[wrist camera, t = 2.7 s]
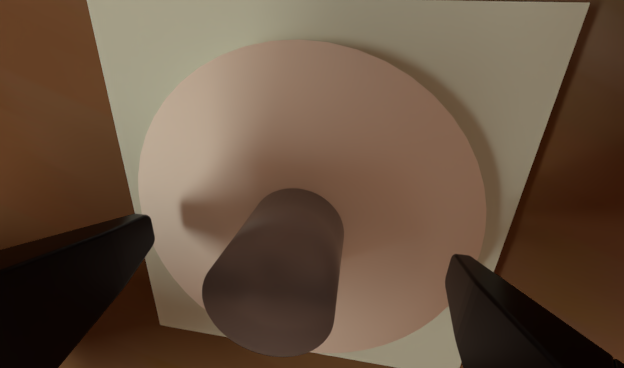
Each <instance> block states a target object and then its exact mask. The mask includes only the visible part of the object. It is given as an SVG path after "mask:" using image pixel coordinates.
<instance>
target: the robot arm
mask: <svg viewBox="0 0 624 368" xmlns="http://www.w3.org/2000/svg"><path fill="white" fill-rule="evenodd" d="M154 241H155V235H154V231H153V226H152V221H151V218H150V217H149V216H148V215H144V214H132V215H128V216H124V217H121V218H117V219H113V220H110V221H106V222H102V223H98V224H95V225H91V226H87V227H84V228H80V229H76V230H73V231H69V232H65V233H61V234H58V235H54V236H50V237H47V238H43V239H39V240H36V241H32V242H28V243H24V244H21V245H17V246H13V247H10V248H6V249H2V250H0V368H58V367H59V366H60V365H61V364H62V362H63V361H64V360H65V359H66V358H67V356H68V355H69V354H70V353H71V352H72V350H73V349H74V348H75V347H76V345H77V344H78V343H79V342H80V341H81V339H82V338H83V337H84V336H85V335H86V333H87V332H88V331H89V330H90V328H91V327H92V326H93V325H94V324H95V322H96V321H97V320H98V319H99V318H100V316H101V315H102V314H103V313H104V311H105V310H106V309H107V308H108V307H109V305H110V304H111V303H112V302H113V301H114V299H115V298H116V297H117V296H118V295H119V293H120V292H121V291H122V289H123V288H124V287H125V286H126V284H127V283H128V281H129V280H130V279H131V277H132V276H133V274H134V273H135V271H136V270H137V268H138V267H139V265H140V264H141V262H142V261H143V260H144V258H145V257H146V255H147V254H148V252H149V251H150V249H151V248H152V246H153V244H154ZM445 288H446V293H447V299H448V304H449V310H450V315H451V321H452V326H453V332H454V336H455V341H456V344H457V348H458V352H459V355H460V358H461V361H462V365H463V368H624V364H623V363H622V362H620V361H619V360H617V359H614V360H613V357H612V355H610V354H609V353H607V352H606V351H605V350H603V349H602V348H600V347H599V346H597V345H596V344H595V343H593V342H592V341H590V340H589V339H588V338H586V337H585V336H583V335H582V334H580V333H579V332H578V331H576V330H575V329H573V328H572V327H571V326H569V325H568V324H566V323H565V322H563V321H562V320H561V319H559V318H558V317H556V316H555V315H553V314H552V313H551V312H549V311H548V310H546V309H545V308H544V307H542V306H541V305H539V304H538V303H536V302H535V301H534V300H532V299H531V298H529V297H528V296H527V295H525V294H524V293H522V292H521V291H519V290H518V289H517V288H515V287H514V286H512V285H511V284H509V283H508V282H507V281H505V280H504V279H502V278H501V277H500V276H498V275H497V274H495V273H494V272H492V271H491V270H490V269H488V268H487V267H485V266H484V265H483V264H481V263H480V262H478V261H477V260H475V259H474V258H473V257H471V256H469V255H462V254H454V255H452V257H451V260H450V263H449V267H448V270H447V274H446V278H445Z"/></svg>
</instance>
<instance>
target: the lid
mask: <svg viewBox="0 0 624 368" xmlns="http://www.w3.org/2000/svg"><path fill="white" fill-rule="evenodd" d="M138 191H139V200H140V206H141V212H142V214H144V215H148V216H149V217H150V218H151V221H152V226H153V231H154V235H155V241H154V244H153V246H154V248H155V250H156V252H157V254H158V256H159V257H160V259H161V261H162V263H163V264H164V266H165V267H166V268H167V270H168V271H169V273H170V274H171V276H172V277H173V278H174V280H175V281H176V282H177V283H178V284H179V285H180V286H181V288H182V289H183V290H184V291H185V292H186V293H187V294H188V295H189V296H190V297H191V298H192V299H193V300H194V301H195V302H196V303H198V304H199V305H200V306H201V307H202V308H204V309H205V310H206V312H207V314H208V316H209V317H210V319H211V320H212V322H213V323H214V325H215V326H216V327H217V328H218V329H219V330H220V331H221V332H222V333H223V334H224V335H225V336H226V337H228V338H229V339H230V340H232V341H233V342H235V343H236V344H238V345H240V346H242V347H244V348H246V349H248V350H251V351H253V352H256V353H259V354H263V355H268V356H275V357H292V356H298V355H302V354H305V353H308V352H313V353H345V352H354V351H361V350H367V349H371V348H375V347H378V346H382V345H386V344H388V343H391V342H394V341H396V340H399V339H401V338H404V337H406V336H407V335H409V334H411V333H413V332H415V331H417V330H419V329H420V328H422V327H423V326H425V325H426V324H428V323H429V322H430V321H432V320H433V319H435V318H436V317H437V316H438V315H439V314H440V313H441V312H442V311H443V310H445V309H446V308H447V307H448V306H449V304H448V299H447V293H446V288H445V278H446V274H447V270H448V267H449V263H450V260H451V257H452V255H454V254H462V255H469V256H471V257H473V258H474V259H475V260H478V257H479V255H480V252H481V248H482V243H483V239H484V235H485V226H486V210H487V209H486V199H485V189H484V183H483V180H482V176H481V172H480V169H479V165H478V162H477V159H476V157H475V155H474V153H473V150H472V148H471V146H470V144H469V142H468V139H467V138H466V136H465V134H464V133H463V131H462V130H461V128H460V127H459V125H458V124H457V122H456V121H455V119H454V118H453V116H452V115H451V114H450V113H449V112H448V111H447V109H446V108H445V107H444V106H443V105H442V104H441V103H440V102H439V101H438V99H437V98H436V97H435V96H434V95H433V94H432V93H431V92H429V91H428V90H427V89H426V88H424V87H423V86H422V85H421V84H420V83H418V82H417V81H416V80H415V79H413V78H412V77H411V76H409V75H408V74H406V73H404V72H403V71H401V70H399V69H398V68H396V67H394V66H393V65H391V64H389V63H388V62H386V61H384V60H382V59H379V58H377V57H374V56H372V55H370V54H367V53H365V52H362V51H360V50H357V49H353V48H349V47H345V46H341V45H337V44H334V43H330V42H321V41H311V40H301V39H298V40H277V41H268V42H263V43H258V44H253V45H248V46H244V47H241V48H239V49H236V50H233V51H231V52H228V53H225V54H223V55H220V56H218V57H217V58H215V59H213V60H211V61H209V62H208V63H206V64H204V65H202V66H201V67H199V68H198V69H196V70H195V71H194V72H193V73H191V74H190V75H189V76H188V77H186V78H185V79H184V80H183V81H181V82H180V83H179V84H178V86H177V87H176V88H175V89H174V90H173V91H172V92H171V93H170V94H169V96H168V97H167V98H166V99H165V100H164V102H163V103H162V105H161V107H160V108H159V110H158V111H157V113H156V114H155V116H154V118H153V120H152V122H151V124H150V127H149V129H148V131H147V134H146V136H145V140H144V143H143V147H142V151H141V155H140V162H139V171H138Z"/></svg>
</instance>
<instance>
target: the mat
mask: <svg viewBox="0 0 624 368" xmlns="http://www.w3.org/2000/svg"><path fill="white" fill-rule="evenodd" d="M87 4H88V8H89V13H90V17H91V21H92V26H93V30H94V35H95V39H96V44H97V48H98V52H99V57H100V61H101V66H102V70H103V75H104V79H105V83H106V88H107V92H108V97H109V101H110V105H111V110H112V114H113V119H114V123H115V128H116V132H117V136H118V141H119V145H120V150H121V154H122V159H123V163H124V167H125V172H126V176H127V181H128V185H129V190H130V194H131V198H132V203H133V207H134V212H135V214H142V212H141V206H140V200H139V191H138V171H139V162H140V155H141V151H142V147H143V143H144V140H145V136H146V134H147V131H148V129H149V127H150V124H151V122H152V120H153V118H154V116H155V114H156V113H157V111H158V110H159V108H160V107H161V105H162V103H163V102H164V100H165V99H166V98H167V97H168V96H169V94H170V93H171V92H172V91H173V90H174V89H175V88H176V87H177V86H178V84H179V83H180V82H181V81H183V80H184V79H185V78H186V77H188V76H189V75H190V74H191V73H193V72H194V71H195V70H196V69H198V68H199V67H201V66H202V65H204V64H206V63H208V62H209V61H211V60H213V59H215V58H217V57H218V56H220V55H223V54H225V53H228V52H231V51H233V50H236V49H239V48H241V47H244V46H248V45H253V44H258V43H263V42H268V41H277V40H298V39H301V40H311V41H321V42H330V43H334V44H337V45H341V46H345V47H349V48H353V49H357V50H360V51H362V52H365V53H367V54H370V55H372V56H374V57H377V58H379V59H382V60H384V61H386V62H388V63H389V64H391V65H393V66H394V67H396V68H398V69H399V70H401V71H403V72H404V73H406V74H408V75H409V76H411V77H412V78H413V79H415V80H416V81H417V82H418V83H420V84H421V85H422V86H423V87H424V88H426V89H427V90H428V91H429V92H431V93H432V94H433V95H434V96H435V97H436V98H437V99H438V101H439V102H440V103H441V104H442V105H443V106H444V107H445V108H446V109H447V111H448V112H449V113H450V114H451V115H452V116H453V118H454V119H455V121H456V122H457V124H458V125H459V127H460V128H461V130H462V131H463V133H464V134H465V136H466V138H467V139H468V142H469V144H470V146H471V148H472V150H473V153H474V155H475V157H476V159H477V162H478V165H479V169H480V172H481V176H482V180H483V183H484V189H485V199H486V209H487V210H486V226H485V235H484V239H483V243H482V248H481V252H480V255H479V257H478V260H477V261H478V262H480V263H481V264H483V265H484V266H485V267H487V268H488V269H490V270H491V271H492V272H494V270H495V267H496V264H497V262H498V259H499V256H500V253H501V250H502V248H503V245H504V242H505V239H506V236H507V234H508V231H509V228H510V225H511V223H512V220H513V217H514V214H515V211H516V209H517V206H518V203H519V200H520V197H521V195H522V192H523V189H524V186H525V183H526V181H527V178H528V175H529V172H530V169H531V167H532V164H533V161H534V158H535V156H536V153H537V150H538V147H539V144H540V142H541V139H542V136H543V133H544V130H545V128H546V125H547V122H548V119H549V116H550V114H551V111H552V108H553V105H554V102H555V100H556V97H557V94H558V91H559V88H560V86H561V83H562V80H563V77H564V75H565V72H566V69H567V66H568V63H569V61H570V58H571V55H572V52H573V49H574V47H575V44H576V41H577V38H578V35H579V33H580V30H581V27H582V24H583V21H584V19H585V16H586V13H587V10H588V8H589V5H590V3H583V2H517V1H451V0H87ZM145 260H146V265H147V269H148V274H149V278H150V282H151V287H152V291H153V296H154V300H155V305H156V309H157V313H158V318H159V322H160V325H162V326H167V327H173V328H179V329H184V330H190V331H195V332H201V333H206V334H212V335H218V336H223V337H226V336H225V335H224V334H223V333H222V332H221V331H220V330H219V329H218V328H217V327H216V326H215V325H214V323H213V322H212V320H211V319H210V317H209V316H208V314H207V312H206V310H205V309H204V308H202V307H201V306H200V305H199V304H198V303H196V302H195V301H194V300H193V299H192V298H191V297H190V296H189V295H188V294H187V293H186V292H185V291H184V290H183V289H182V288H181V286H180V285H179V284H178V283H177V282H176V281H175V280H174V278H173V277H172V276H171V274H170V273H169V271H168V270H167V268H166V267H165V266H164V264H163V263H162V261H161V259H160V257H159V256H158V254H157V252H156V250H155V248H154V246H152V248H151V249H150V251H149V252H148V254H147V255H146V257H145ZM312 353H313V352H312ZM318 354H324V355H329V356H335V357H340V358H346V359H351V360H357V361H363V362H368V363H374V364H379V365H385V366H391V367H396V368H460V365H461V362H462V361H461V358H460V355H459V352H458V348H457V344H456V341H455V336H454V332H453V326H452V321H451V315H450V310H449V306H448V307H447V308H446V309H445V310H443V311H442V312H441V313H440V314H439V315H438V316H437V317H436V318H435V319H433V320H432V321H430V322H429V323H428V324H426V325H425V326H423V327H422V328H420V329H419V330H417V331H415V332H413V333H411V334H409V335H407V336H406V337H404V338H401V339H399V340H396V341H394V342H391V343H388V344H386V345H382V346H378V347H375V348H371V349H367V350H361V351H354V352H345V353H318Z"/></svg>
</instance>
